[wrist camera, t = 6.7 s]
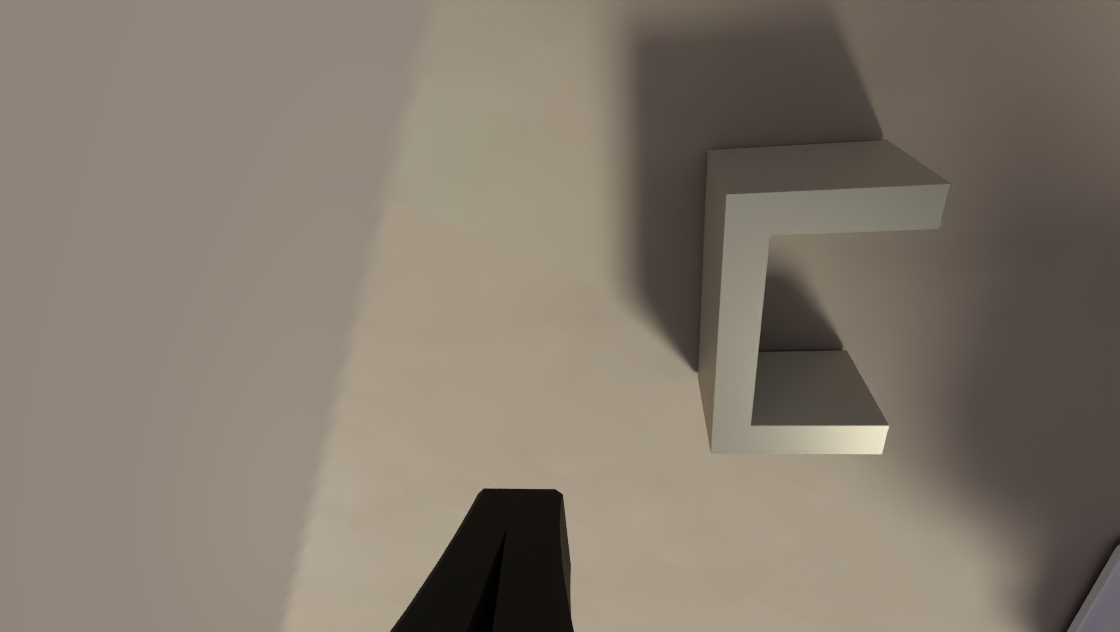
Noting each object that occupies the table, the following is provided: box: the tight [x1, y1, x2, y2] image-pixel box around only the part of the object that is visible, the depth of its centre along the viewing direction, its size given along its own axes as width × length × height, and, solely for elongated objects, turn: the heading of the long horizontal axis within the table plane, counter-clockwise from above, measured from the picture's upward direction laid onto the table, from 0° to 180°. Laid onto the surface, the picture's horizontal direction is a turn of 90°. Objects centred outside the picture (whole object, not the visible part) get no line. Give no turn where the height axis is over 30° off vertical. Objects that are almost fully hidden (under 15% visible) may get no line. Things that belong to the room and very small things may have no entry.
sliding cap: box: [698, 140, 950, 454], centre depth 16 cm, size 8×4×4 cm, turn 5°
